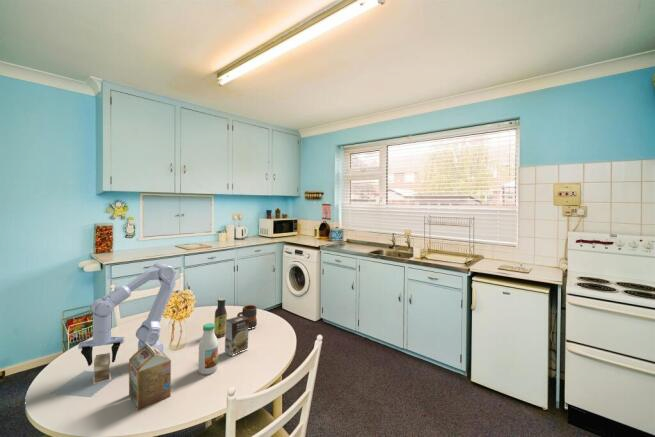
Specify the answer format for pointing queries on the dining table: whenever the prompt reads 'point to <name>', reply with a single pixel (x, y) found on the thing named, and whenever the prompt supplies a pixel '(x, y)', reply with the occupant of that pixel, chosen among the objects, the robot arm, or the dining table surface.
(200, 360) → the milk bottle
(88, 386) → the light blue flat plate
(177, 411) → the dining table surface
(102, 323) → the robot arm
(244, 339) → the coffee box
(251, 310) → the mug
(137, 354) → the milk carton
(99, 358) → the birch block
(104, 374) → the walnut block
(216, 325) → the sauce bottle
